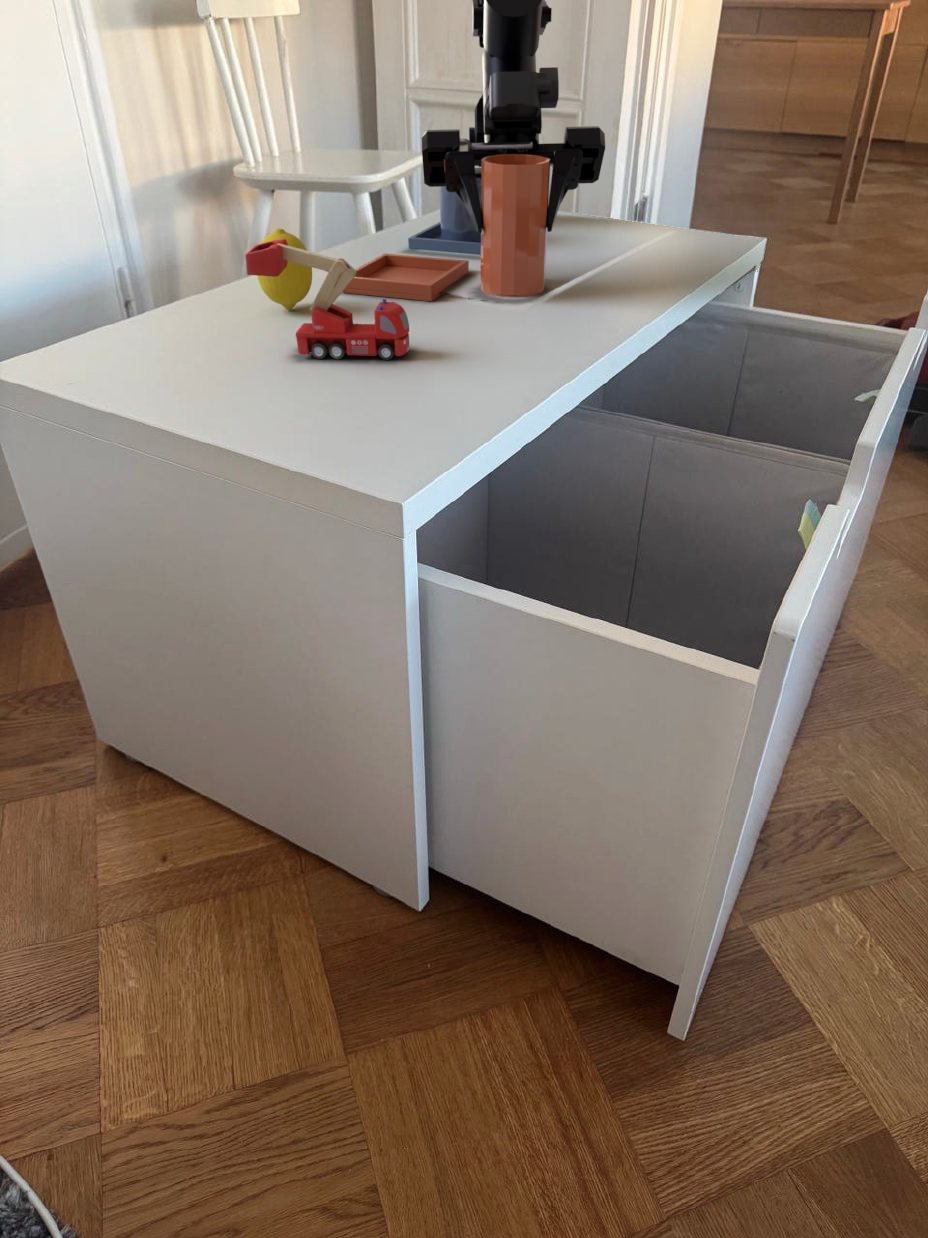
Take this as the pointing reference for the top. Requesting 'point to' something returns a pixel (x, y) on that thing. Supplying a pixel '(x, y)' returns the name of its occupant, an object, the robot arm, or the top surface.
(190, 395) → the top surface
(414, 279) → the terracotta tray
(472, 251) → the slate tray
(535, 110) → the robot arm
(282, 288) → the lemon
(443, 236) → the blue-grey drinking cup
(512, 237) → the terracotta cup
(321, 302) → the toy fire truck
